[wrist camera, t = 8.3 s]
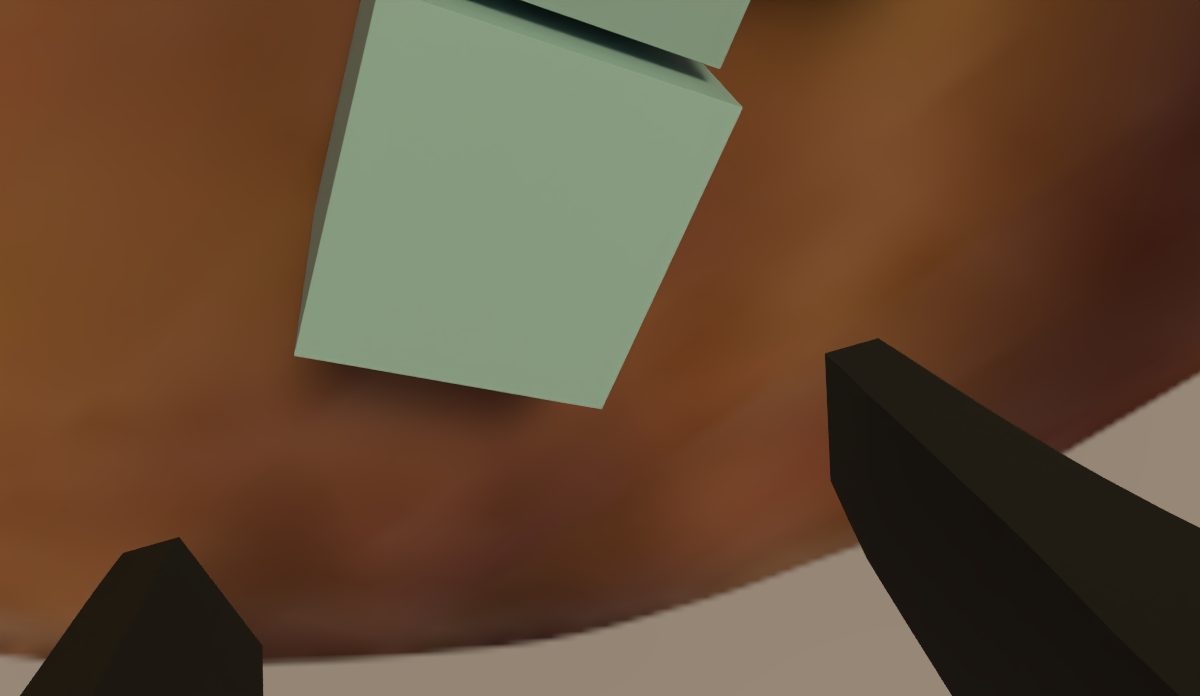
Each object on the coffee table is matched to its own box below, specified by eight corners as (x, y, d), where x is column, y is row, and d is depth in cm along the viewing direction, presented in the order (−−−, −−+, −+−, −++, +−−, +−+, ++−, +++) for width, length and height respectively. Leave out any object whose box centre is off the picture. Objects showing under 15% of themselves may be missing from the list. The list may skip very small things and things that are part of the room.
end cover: (770, -279, 14) (922, -276, 10) (557, 266, 19) (601, 409, 15) (459, -444, 12) (494, -518, 8) (314, 209, 17) (293, 355, 13)
